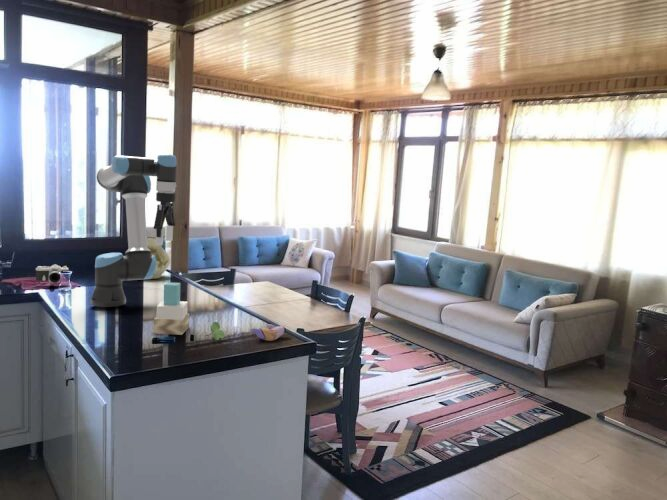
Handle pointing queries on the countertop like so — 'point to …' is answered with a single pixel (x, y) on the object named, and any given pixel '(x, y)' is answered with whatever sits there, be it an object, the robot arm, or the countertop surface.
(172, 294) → the teal block
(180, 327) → the tower bottom
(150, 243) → the pitcher
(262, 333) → the toy
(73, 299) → the countertop surface
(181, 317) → the tower top
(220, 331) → the seedling
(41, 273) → the camera
